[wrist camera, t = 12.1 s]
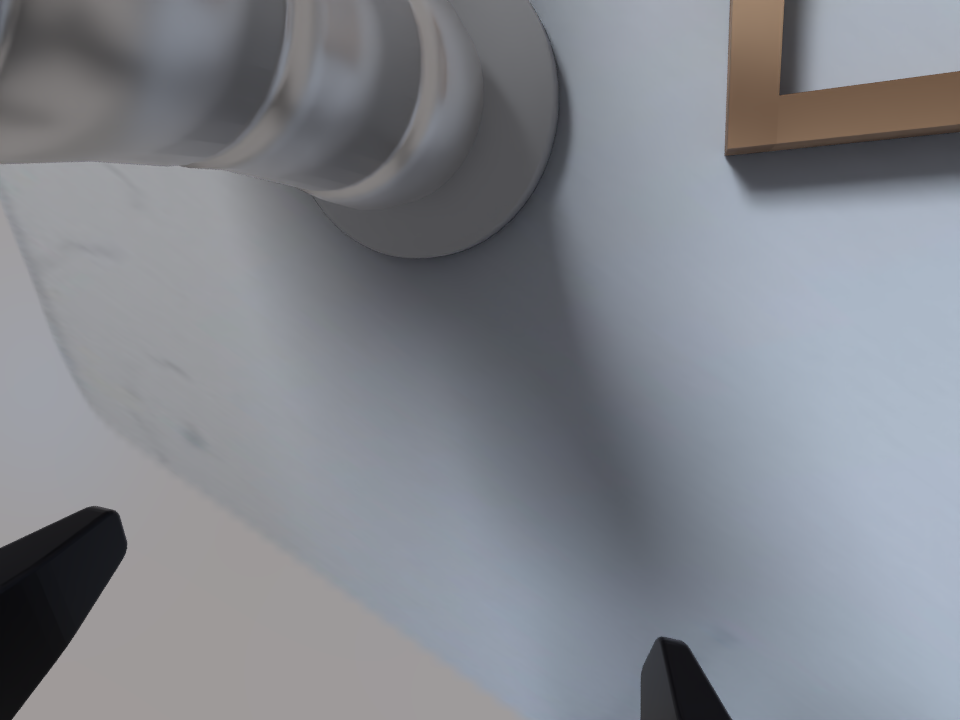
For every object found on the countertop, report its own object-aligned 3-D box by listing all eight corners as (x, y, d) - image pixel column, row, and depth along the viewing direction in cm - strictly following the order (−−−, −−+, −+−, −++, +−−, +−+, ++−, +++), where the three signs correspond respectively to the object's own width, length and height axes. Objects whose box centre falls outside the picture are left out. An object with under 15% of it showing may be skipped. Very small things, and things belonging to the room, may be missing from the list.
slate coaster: (624, 75, 17) (620, 66, 16) (441, 311, 21) (430, 315, 20) (398, -111, 18) (383, -129, 17) (266, 145, 22) (248, 142, 21)
